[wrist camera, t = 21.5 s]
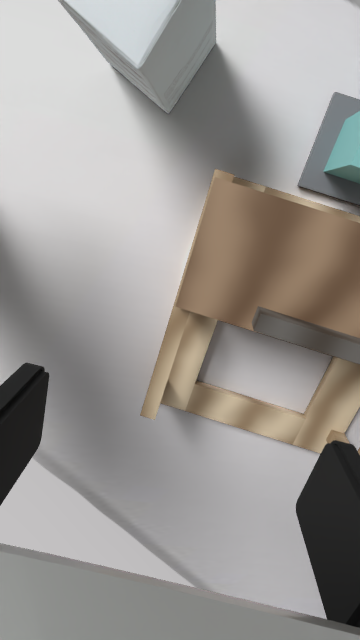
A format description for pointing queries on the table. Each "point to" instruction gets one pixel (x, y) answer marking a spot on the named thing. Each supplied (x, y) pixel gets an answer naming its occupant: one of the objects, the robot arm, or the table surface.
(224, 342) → the table surface
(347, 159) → the teal block
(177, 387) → the light wood slatted frame
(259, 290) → the walnut lid
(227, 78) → the table surface
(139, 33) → the supplement box
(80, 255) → the table surface
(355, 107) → the felt mat
